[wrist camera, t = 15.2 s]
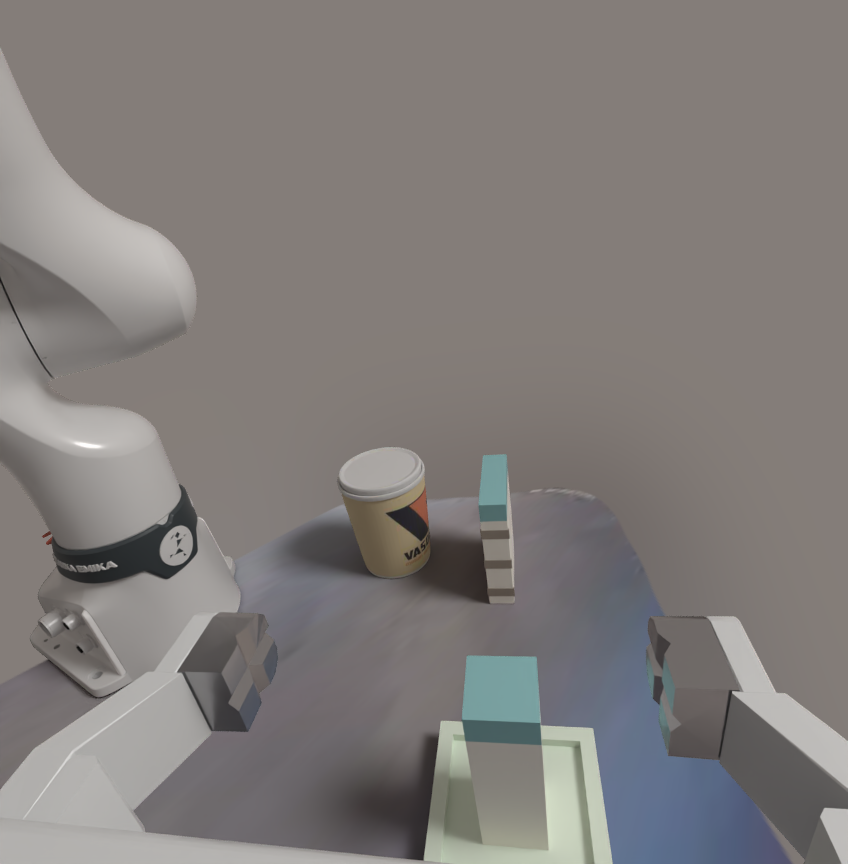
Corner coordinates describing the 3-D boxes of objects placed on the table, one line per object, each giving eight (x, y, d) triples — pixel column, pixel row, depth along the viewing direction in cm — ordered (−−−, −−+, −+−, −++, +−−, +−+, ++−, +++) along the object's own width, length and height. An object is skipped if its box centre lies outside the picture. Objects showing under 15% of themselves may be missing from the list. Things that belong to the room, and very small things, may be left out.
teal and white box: (488, 603, 52) (477, 505, 46) (491, 545, 60) (482, 455, 54) (515, 603, 51) (506, 504, 46) (514, 544, 59) (507, 454, 54)
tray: (423, 918, 30) (418, 903, 30) (444, 736, 40) (441, 720, 39) (621, 943, 28) (621, 927, 27) (592, 744, 38) (592, 728, 37)
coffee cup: (419, 591, 55) (401, 495, 49) (343, 577, 58) (318, 486, 53) (449, 536, 62) (435, 448, 57) (379, 526, 66) (361, 443, 61)
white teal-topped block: (482, 844, 32) (461, 719, 27) (485, 777, 36) (467, 655, 31) (548, 850, 32) (540, 723, 26) (544, 781, 35) (536, 656, 30)
